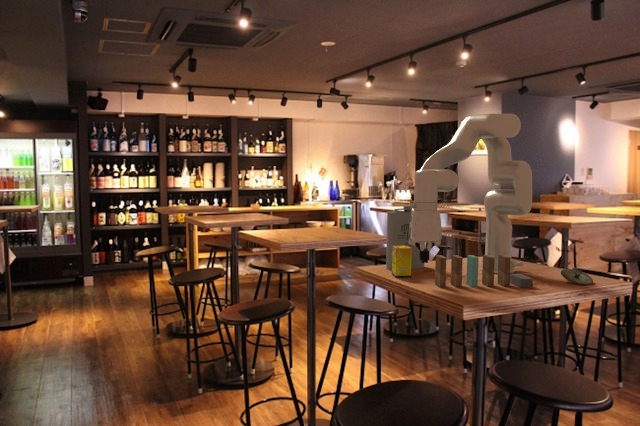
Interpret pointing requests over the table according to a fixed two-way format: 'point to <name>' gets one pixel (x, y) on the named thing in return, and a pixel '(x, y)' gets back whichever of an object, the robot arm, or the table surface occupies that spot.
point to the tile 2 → (456, 270)
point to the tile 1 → (440, 271)
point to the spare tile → (472, 271)
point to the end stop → (521, 281)
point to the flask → (400, 235)
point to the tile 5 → (504, 270)
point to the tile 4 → (488, 270)
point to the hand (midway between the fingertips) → (424, 262)
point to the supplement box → (401, 261)
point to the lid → (576, 276)
